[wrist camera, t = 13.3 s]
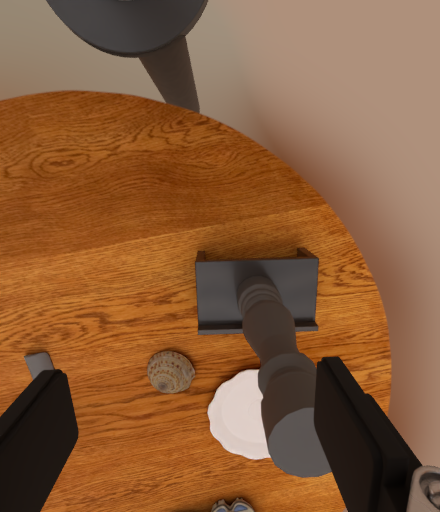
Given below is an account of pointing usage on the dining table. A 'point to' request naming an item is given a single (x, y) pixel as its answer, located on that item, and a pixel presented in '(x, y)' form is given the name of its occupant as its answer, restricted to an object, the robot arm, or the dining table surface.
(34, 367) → the half round rod
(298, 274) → the block with raised lip
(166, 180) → the dining table surface
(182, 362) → the seashell
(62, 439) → the robot arm
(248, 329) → the candle holder
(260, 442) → the plate
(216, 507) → the golf shoe
